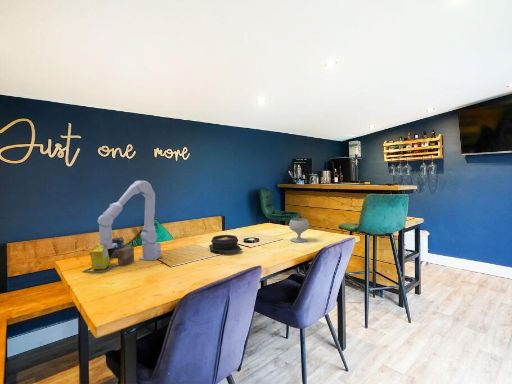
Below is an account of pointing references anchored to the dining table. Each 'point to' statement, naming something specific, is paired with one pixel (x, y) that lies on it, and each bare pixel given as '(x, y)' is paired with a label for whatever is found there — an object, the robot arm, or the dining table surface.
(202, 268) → the dining table surface
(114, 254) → the box
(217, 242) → the black round squat piece
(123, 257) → the shelf blocks
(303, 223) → the chalice
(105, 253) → the supplement box
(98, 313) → the dining table surface
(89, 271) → the stand outline
